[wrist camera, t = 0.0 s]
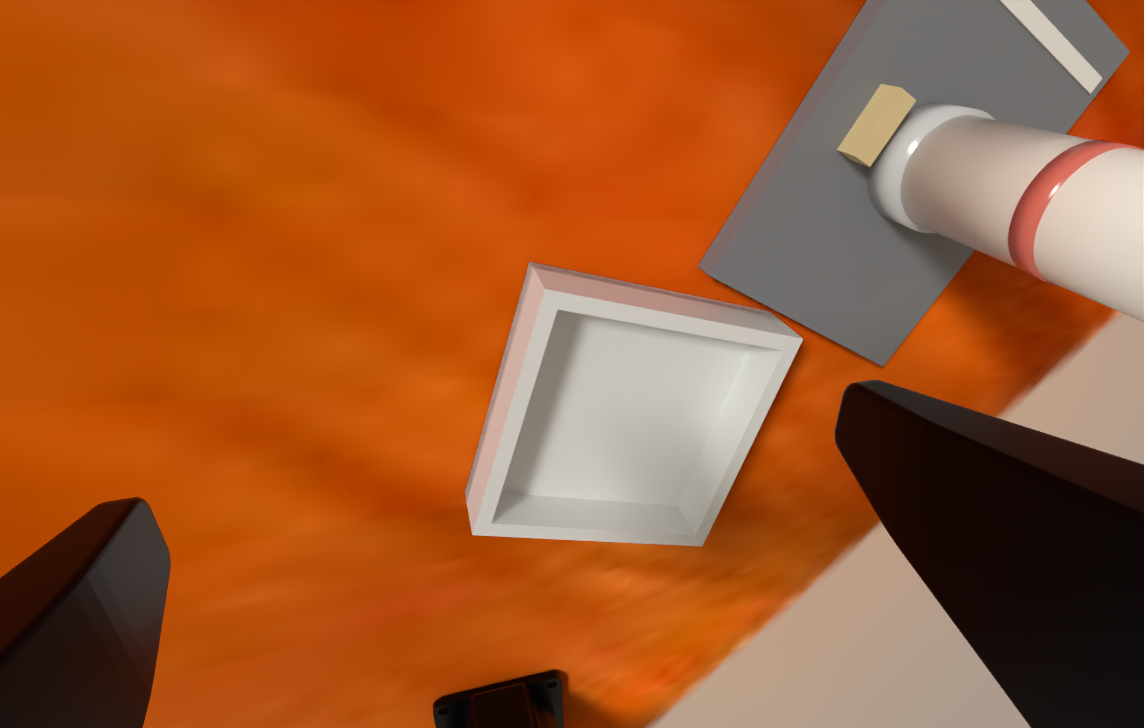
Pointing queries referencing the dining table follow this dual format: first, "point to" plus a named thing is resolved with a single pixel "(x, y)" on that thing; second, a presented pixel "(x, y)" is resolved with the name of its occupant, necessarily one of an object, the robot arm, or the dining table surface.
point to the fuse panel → (861, 130)
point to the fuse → (1021, 198)
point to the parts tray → (622, 411)
